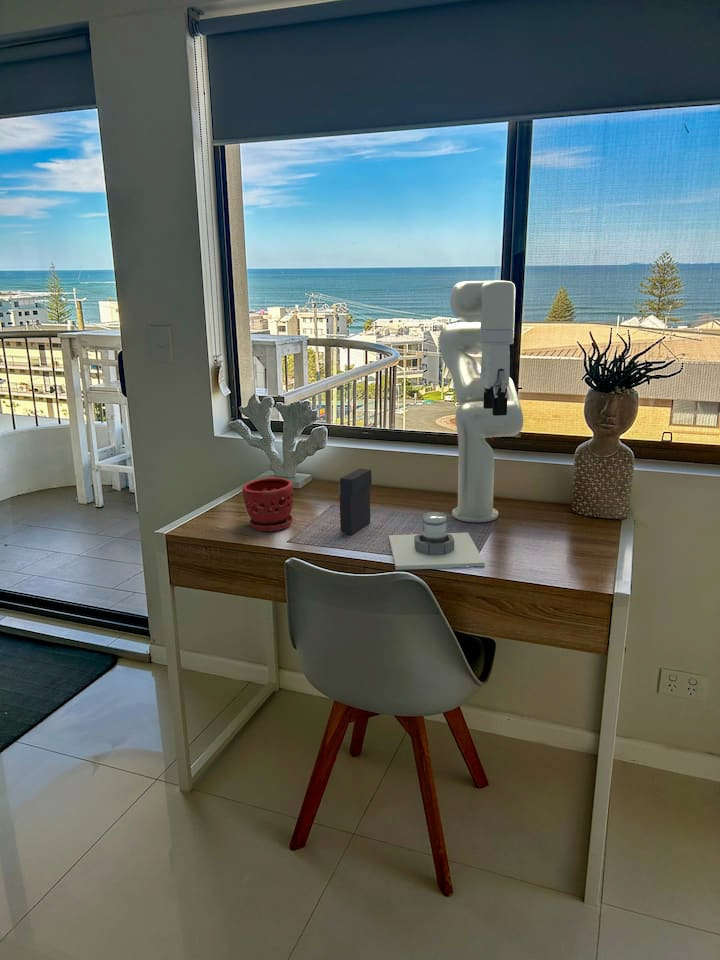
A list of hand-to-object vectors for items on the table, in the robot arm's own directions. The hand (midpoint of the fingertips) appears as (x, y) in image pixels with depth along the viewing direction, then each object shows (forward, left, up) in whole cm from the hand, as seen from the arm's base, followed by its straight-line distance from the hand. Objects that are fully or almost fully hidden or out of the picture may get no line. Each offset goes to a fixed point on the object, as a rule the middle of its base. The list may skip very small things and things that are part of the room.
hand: (494, 411), depth 160 cm
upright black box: (-13, -33, -32) cm, 48 cm away
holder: (+6, -15, -32) cm, 36 cm away
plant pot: (-17, -56, -33) cm, 67 cm away
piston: (+6, -15, -31) cm, 35 cm away
